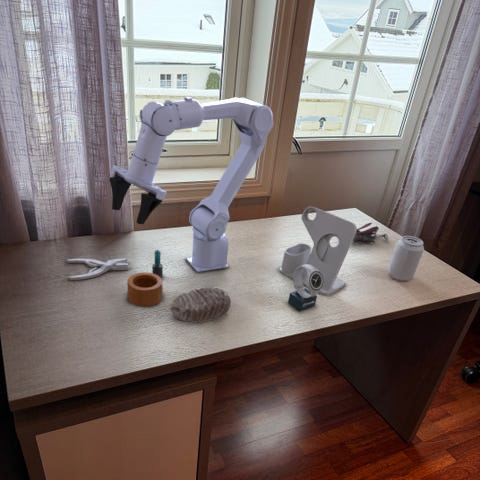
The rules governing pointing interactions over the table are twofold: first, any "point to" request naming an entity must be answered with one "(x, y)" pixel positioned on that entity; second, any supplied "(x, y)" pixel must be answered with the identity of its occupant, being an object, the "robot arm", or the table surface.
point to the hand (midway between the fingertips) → (127, 216)
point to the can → (406, 258)
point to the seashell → (201, 304)
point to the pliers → (110, 265)
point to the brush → (157, 265)
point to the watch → (305, 297)
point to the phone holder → (321, 249)
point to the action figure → (368, 234)
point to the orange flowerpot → (145, 289)
